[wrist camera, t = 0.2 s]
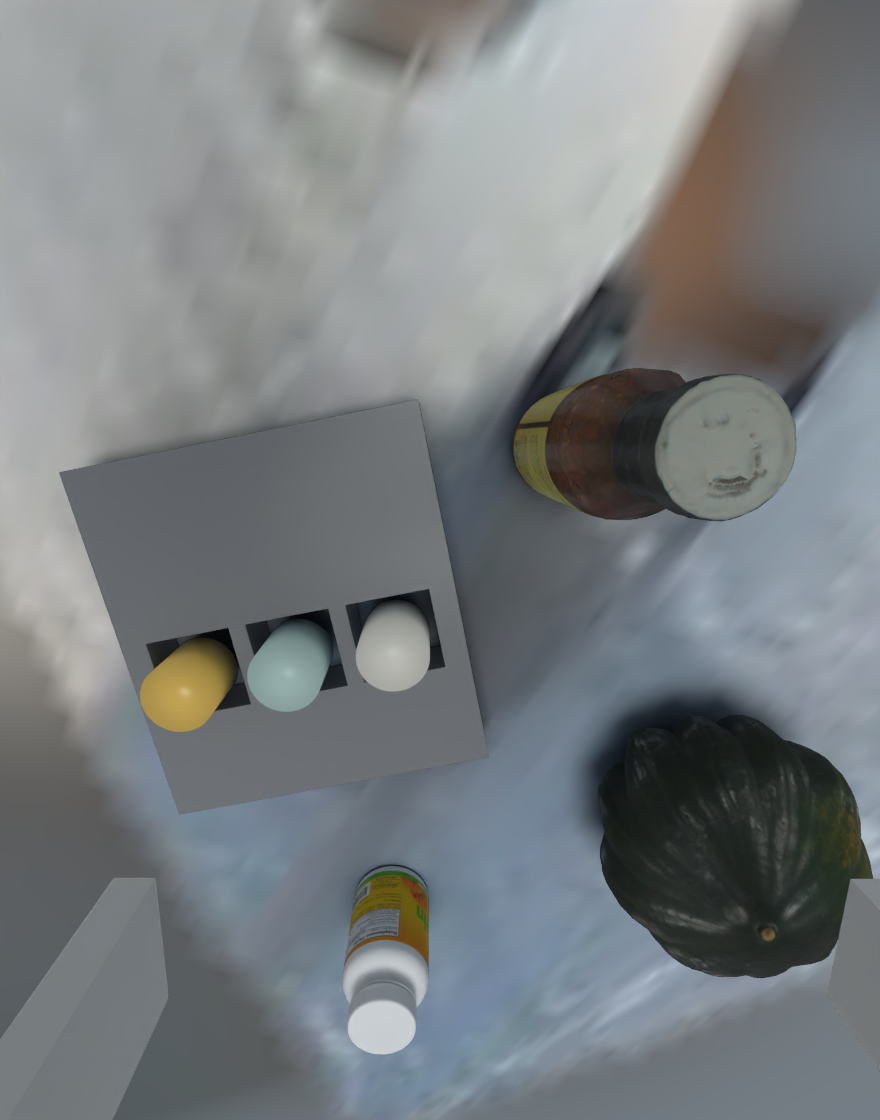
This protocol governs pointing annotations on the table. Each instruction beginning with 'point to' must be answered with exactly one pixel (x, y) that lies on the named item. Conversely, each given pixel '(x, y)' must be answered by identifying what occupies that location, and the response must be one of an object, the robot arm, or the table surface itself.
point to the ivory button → (394, 646)
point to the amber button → (189, 685)
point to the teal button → (291, 665)
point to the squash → (731, 845)
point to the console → (284, 595)
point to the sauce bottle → (658, 445)
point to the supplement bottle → (387, 959)
